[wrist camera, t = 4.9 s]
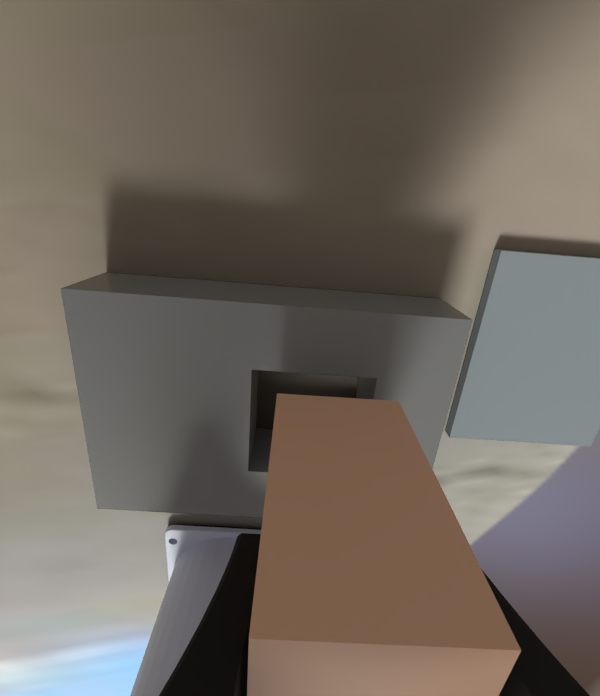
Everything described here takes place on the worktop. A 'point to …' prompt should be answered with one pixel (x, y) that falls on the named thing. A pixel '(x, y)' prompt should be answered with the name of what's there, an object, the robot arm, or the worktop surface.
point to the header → (235, 378)
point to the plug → (366, 565)
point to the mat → (533, 353)
